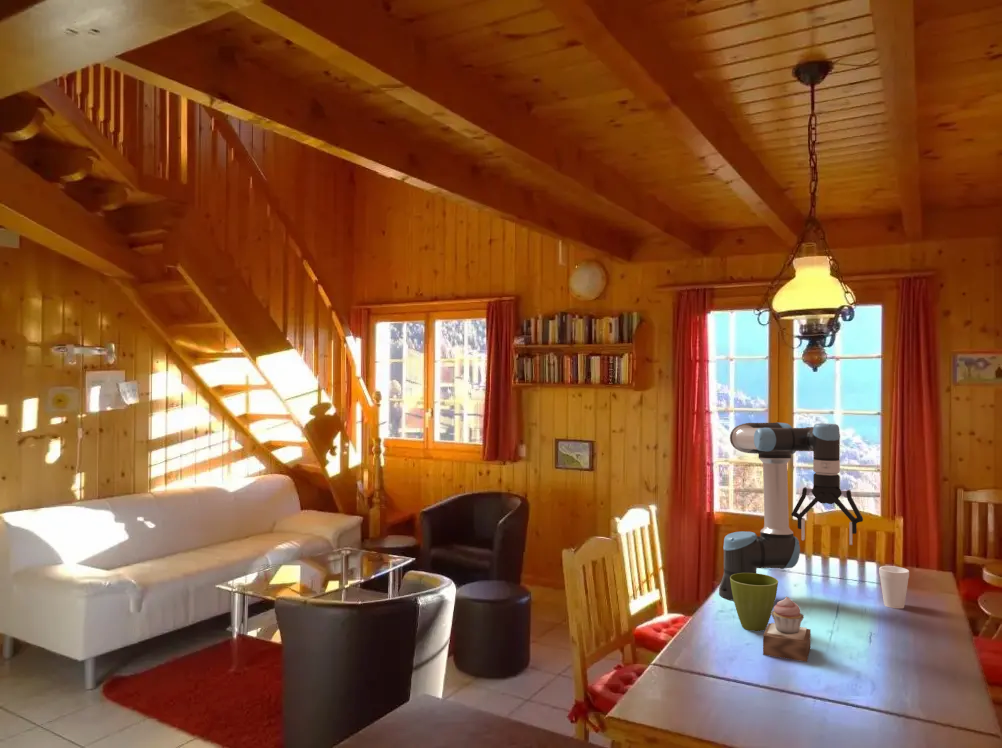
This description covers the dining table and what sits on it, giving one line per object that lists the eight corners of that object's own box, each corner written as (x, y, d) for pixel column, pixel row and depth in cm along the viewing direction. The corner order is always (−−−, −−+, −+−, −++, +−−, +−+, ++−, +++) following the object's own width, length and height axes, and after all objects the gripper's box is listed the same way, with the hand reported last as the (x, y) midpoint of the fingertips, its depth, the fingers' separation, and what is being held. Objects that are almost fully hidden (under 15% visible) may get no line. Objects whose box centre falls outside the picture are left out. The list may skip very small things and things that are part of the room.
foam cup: (906, 611, 256) (906, 574, 256) (877, 606, 261) (877, 570, 261) (910, 604, 263) (910, 568, 263) (882, 600, 269) (882, 564, 269)
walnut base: (763, 654, 216) (763, 633, 216) (768, 641, 227) (768, 621, 227) (806, 661, 211) (806, 640, 211) (810, 648, 221) (810, 627, 222)
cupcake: (788, 623, 225) (787, 590, 225) (811, 633, 216) (811, 599, 216) (763, 627, 222) (763, 594, 222) (786, 637, 213) (786, 603, 213)
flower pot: (782, 637, 231) (781, 586, 231) (732, 634, 234) (732, 583, 234) (774, 621, 245) (774, 574, 245) (727, 618, 248) (727, 571, 248)
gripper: (782, 472, 230) (782, 540, 230) (871, 477, 219) (871, 548, 219) (785, 469, 237) (785, 535, 237) (871, 474, 225) (871, 543, 225)
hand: (826, 541), depth 228 cm, fingers open, 13 cm apart
